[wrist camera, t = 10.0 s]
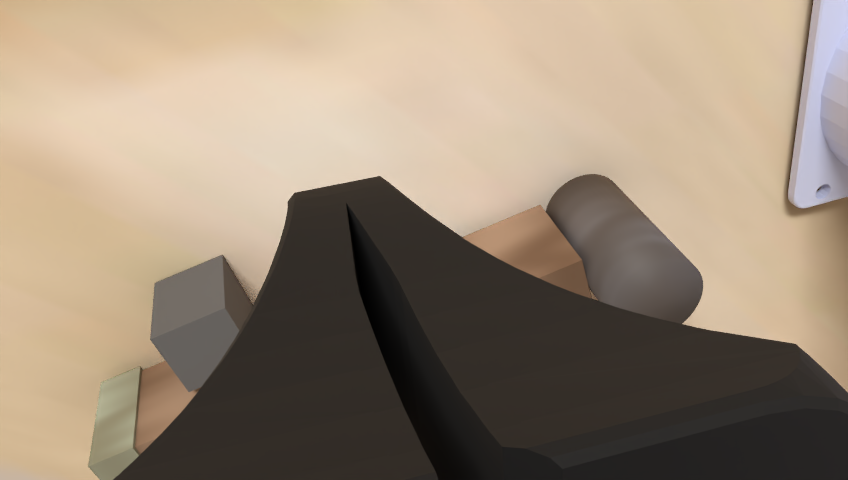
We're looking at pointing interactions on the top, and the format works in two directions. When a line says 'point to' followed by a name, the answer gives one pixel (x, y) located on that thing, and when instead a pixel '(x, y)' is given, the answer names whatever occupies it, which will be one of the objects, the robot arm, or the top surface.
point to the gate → (506, 240)
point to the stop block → (198, 319)
